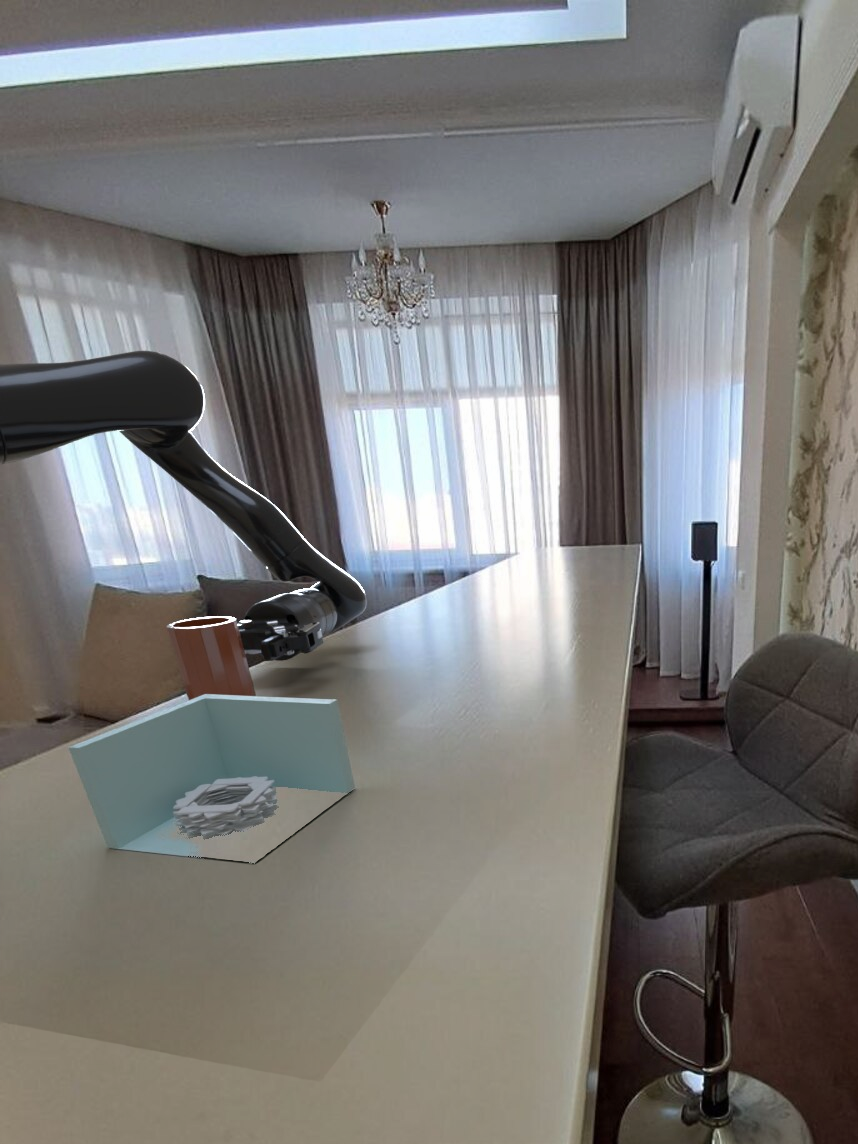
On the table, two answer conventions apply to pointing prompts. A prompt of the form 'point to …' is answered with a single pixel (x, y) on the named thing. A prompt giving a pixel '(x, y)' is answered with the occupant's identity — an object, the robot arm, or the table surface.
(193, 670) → the cup
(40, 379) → the robot arm
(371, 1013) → the table surface
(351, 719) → the table surface
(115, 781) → the right angle wall
